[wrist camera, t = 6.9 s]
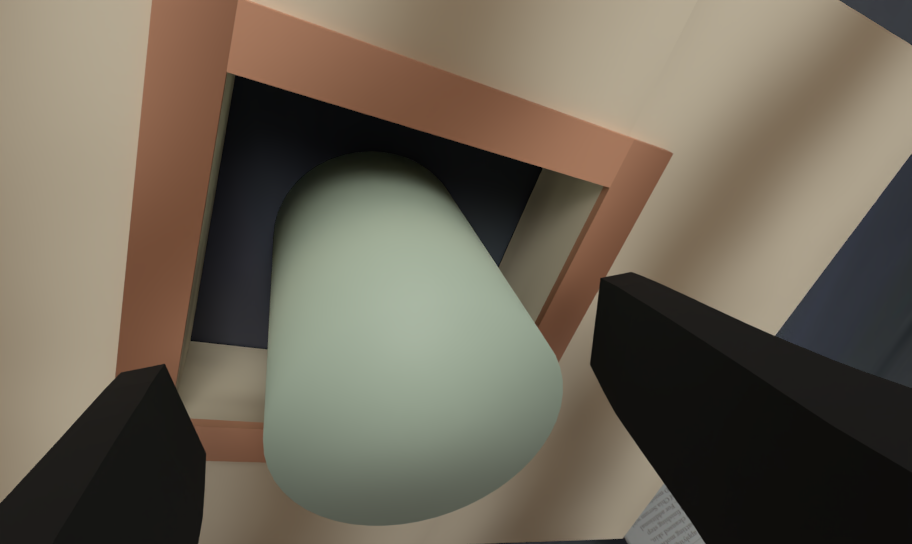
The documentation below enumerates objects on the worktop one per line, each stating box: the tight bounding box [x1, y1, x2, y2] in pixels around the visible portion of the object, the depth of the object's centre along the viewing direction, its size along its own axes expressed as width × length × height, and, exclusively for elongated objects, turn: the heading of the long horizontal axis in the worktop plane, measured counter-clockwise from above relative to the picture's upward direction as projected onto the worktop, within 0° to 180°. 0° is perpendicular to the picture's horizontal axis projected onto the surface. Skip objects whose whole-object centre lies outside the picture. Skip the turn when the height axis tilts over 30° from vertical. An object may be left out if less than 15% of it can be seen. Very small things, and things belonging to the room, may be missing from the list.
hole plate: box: [0, 0, 912, 544], centre depth 11 cm, size 22×16×3 cm
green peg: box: [263, 151, 563, 526], centre depth 10 cm, size 4×4×6 cm
